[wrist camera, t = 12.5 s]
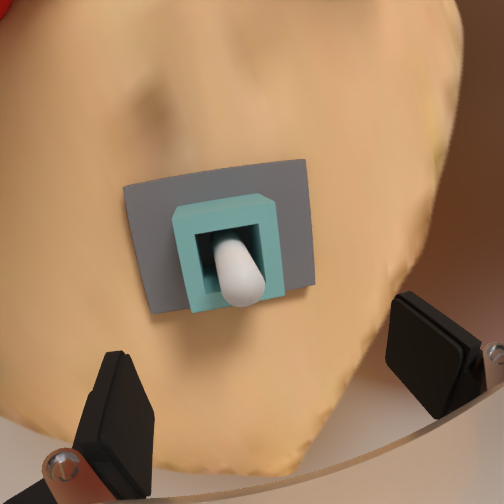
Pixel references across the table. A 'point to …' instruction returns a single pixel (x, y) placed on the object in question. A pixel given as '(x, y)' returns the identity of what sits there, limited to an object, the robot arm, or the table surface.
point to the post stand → (220, 231)
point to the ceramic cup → (4, 7)
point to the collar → (218, 218)
